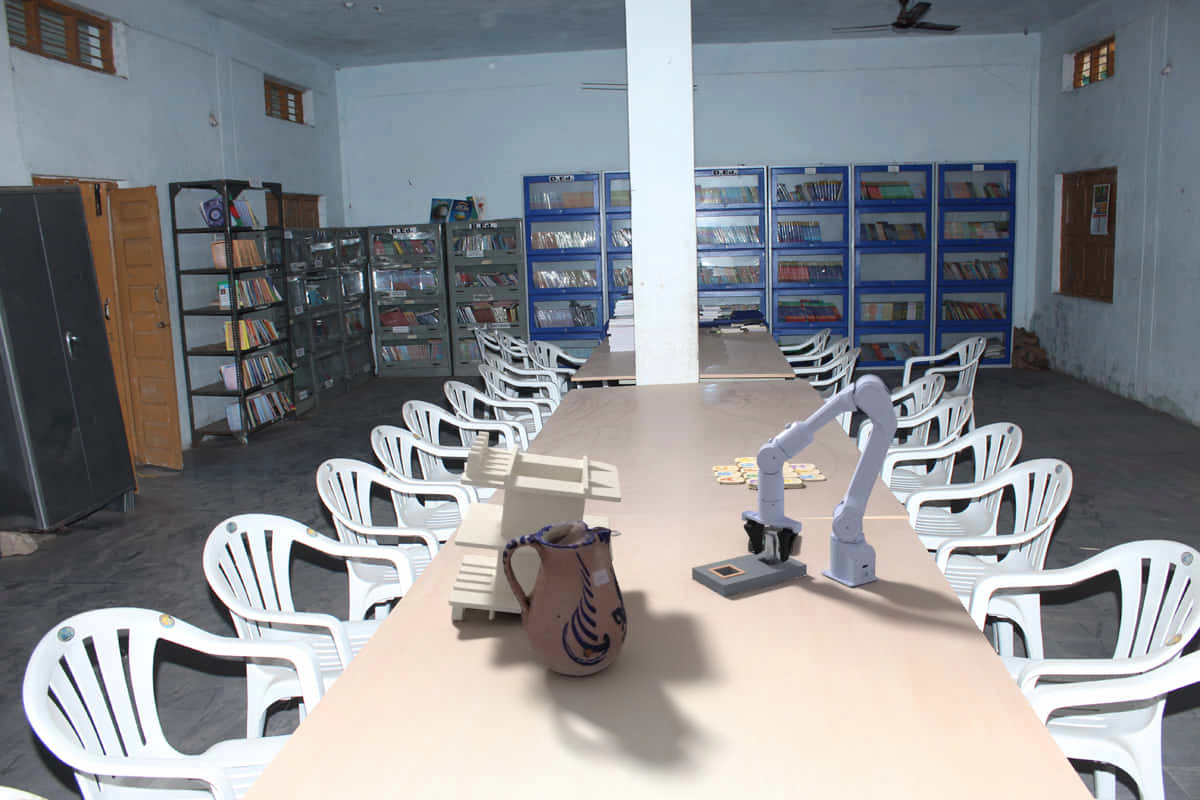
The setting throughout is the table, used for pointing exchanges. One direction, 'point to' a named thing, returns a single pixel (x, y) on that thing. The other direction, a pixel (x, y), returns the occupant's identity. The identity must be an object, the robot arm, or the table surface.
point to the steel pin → (770, 548)
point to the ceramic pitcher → (571, 598)
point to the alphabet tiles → (750, 473)
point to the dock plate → (746, 573)
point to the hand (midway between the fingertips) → (771, 557)
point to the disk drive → (763, 538)
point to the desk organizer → (520, 517)
